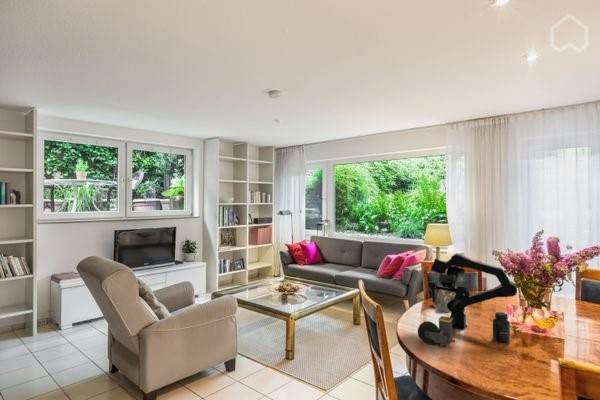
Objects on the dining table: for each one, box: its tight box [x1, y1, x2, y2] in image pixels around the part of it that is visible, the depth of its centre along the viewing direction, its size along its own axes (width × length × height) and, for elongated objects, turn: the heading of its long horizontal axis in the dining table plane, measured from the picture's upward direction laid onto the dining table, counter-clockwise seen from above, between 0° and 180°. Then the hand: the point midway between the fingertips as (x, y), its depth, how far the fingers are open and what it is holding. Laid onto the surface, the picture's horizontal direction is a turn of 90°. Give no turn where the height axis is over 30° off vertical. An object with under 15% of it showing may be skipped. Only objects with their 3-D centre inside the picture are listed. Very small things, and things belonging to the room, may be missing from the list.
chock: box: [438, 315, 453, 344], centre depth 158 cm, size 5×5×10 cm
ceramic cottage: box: [432, 287, 457, 313], centre depth 207 cm, size 16×16×15 cm
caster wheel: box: [417, 320, 456, 348], centre depth 155 cm, size 6×10×15 cm
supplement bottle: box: [492, 311, 511, 344], centre depth 158 cm, size 7×7×12 cm
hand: (442, 304), depth 167 cm, fingers open, 9 cm apart
